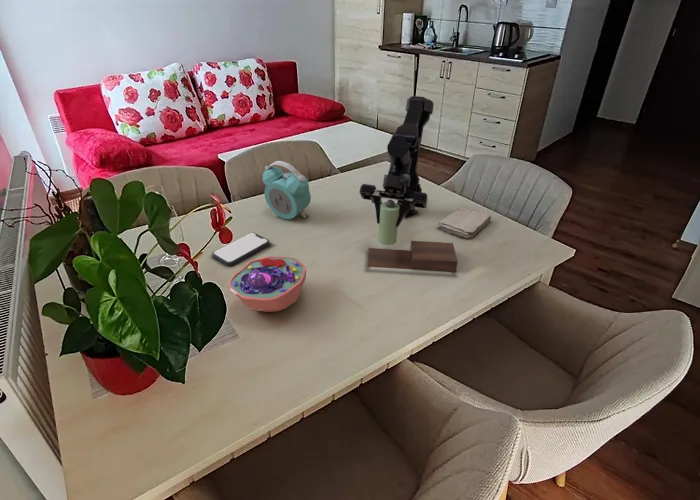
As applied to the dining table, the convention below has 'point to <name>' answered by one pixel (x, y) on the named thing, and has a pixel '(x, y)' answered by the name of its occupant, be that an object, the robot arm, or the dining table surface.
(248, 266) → the cell model
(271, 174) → the alarm clock
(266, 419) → the dining table surface
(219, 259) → the smartphone
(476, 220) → the washcloth
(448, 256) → the spice riser
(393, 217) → the pepper mill
